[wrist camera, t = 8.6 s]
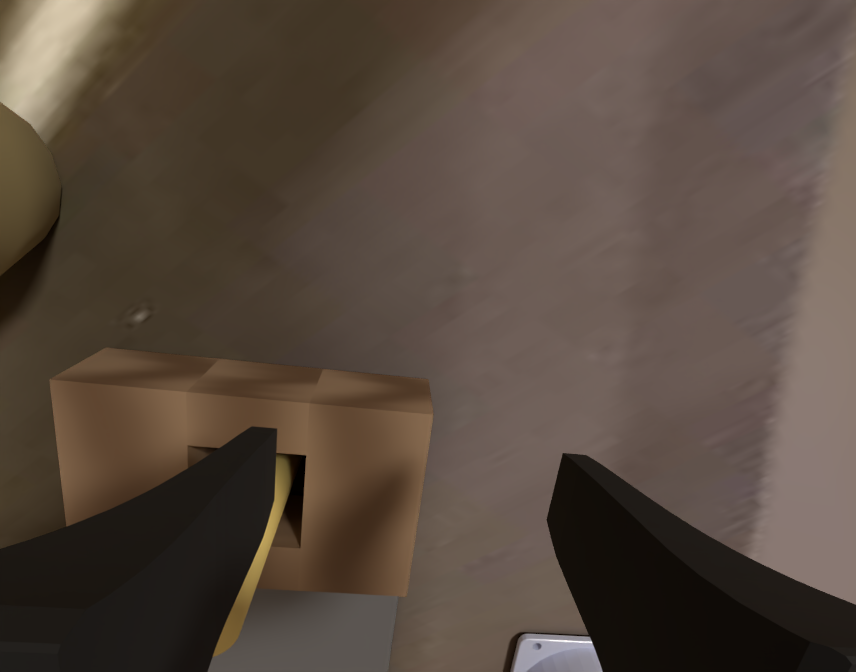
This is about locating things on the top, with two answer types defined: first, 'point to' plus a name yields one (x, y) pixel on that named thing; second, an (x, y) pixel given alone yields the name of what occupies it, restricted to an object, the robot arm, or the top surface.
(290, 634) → the mat
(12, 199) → the squeeze bottle
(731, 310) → the top surface
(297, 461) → the peg
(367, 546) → the walnut block
